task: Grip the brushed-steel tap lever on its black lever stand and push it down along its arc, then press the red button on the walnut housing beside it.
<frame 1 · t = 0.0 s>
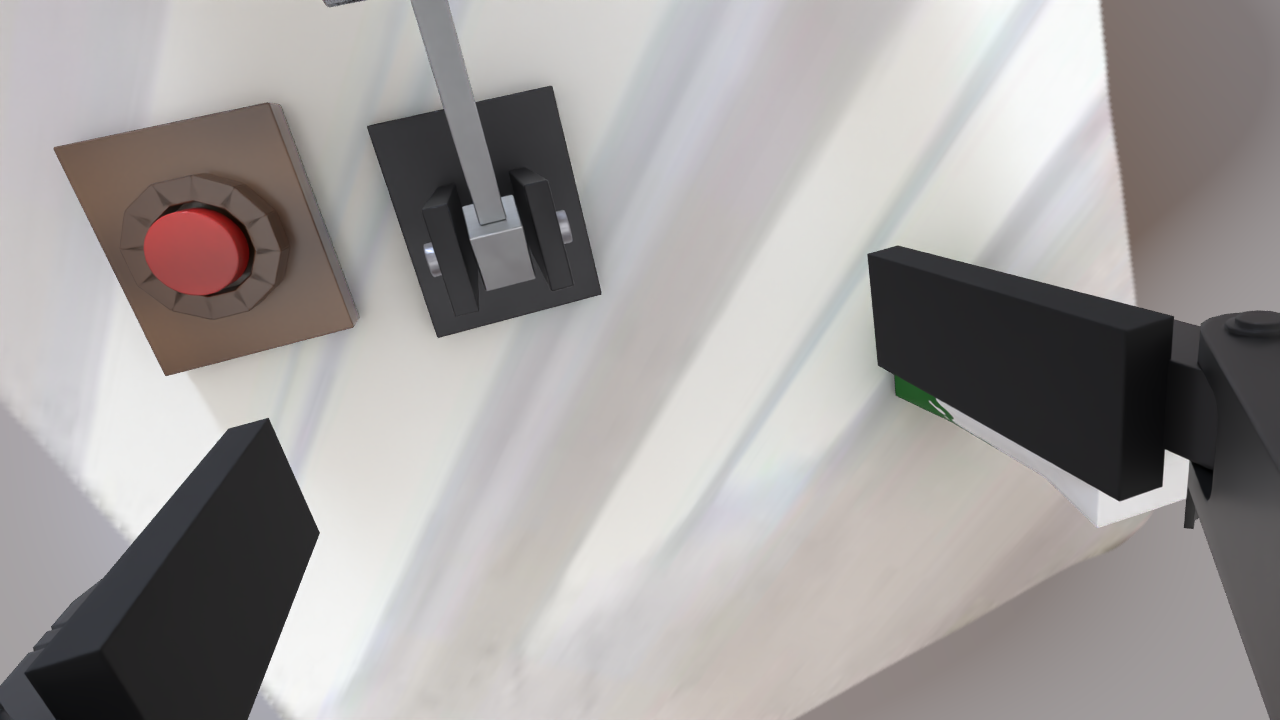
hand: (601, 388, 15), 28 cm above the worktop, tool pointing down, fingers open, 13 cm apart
black lever stand: (492, 213, 40), on the worktop
button box: (229, 238, 37), on the worktop
milk carton: (933, 339, 50), on the worktop
button: (198, 251, 33), point 4 cm above the worktop, slide at 0.1 cm
tap lever: (466, 129, 25), point 14 cm above the worktop, hinge at 28.0°
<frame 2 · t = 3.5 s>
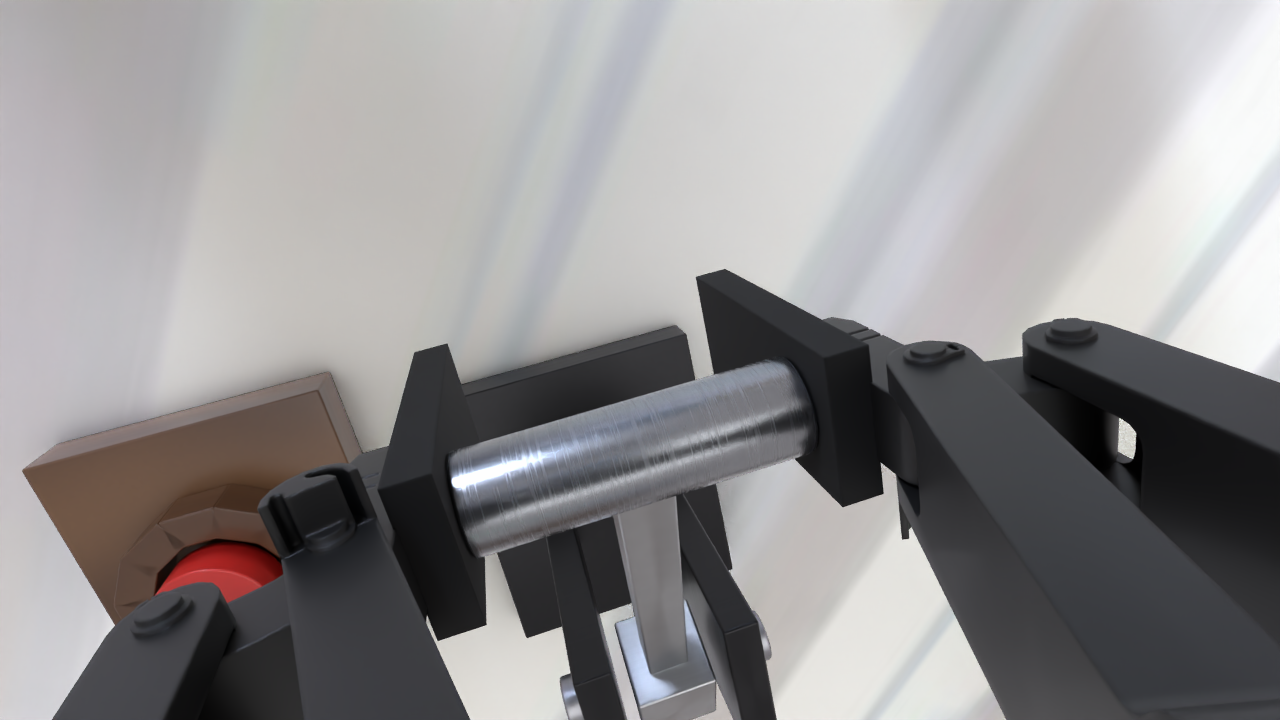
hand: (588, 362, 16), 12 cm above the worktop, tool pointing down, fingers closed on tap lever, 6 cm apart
black lever stand: (597, 477, 31), on the worktop
button box: (259, 535, 28), on the worktop
button: (222, 604, 24), point 4 cm above the worktop, slide at 0.1 cm
tap lever: (655, 592, 16), point 14 cm above the worktop, hinge at 28.0°, touching gripper
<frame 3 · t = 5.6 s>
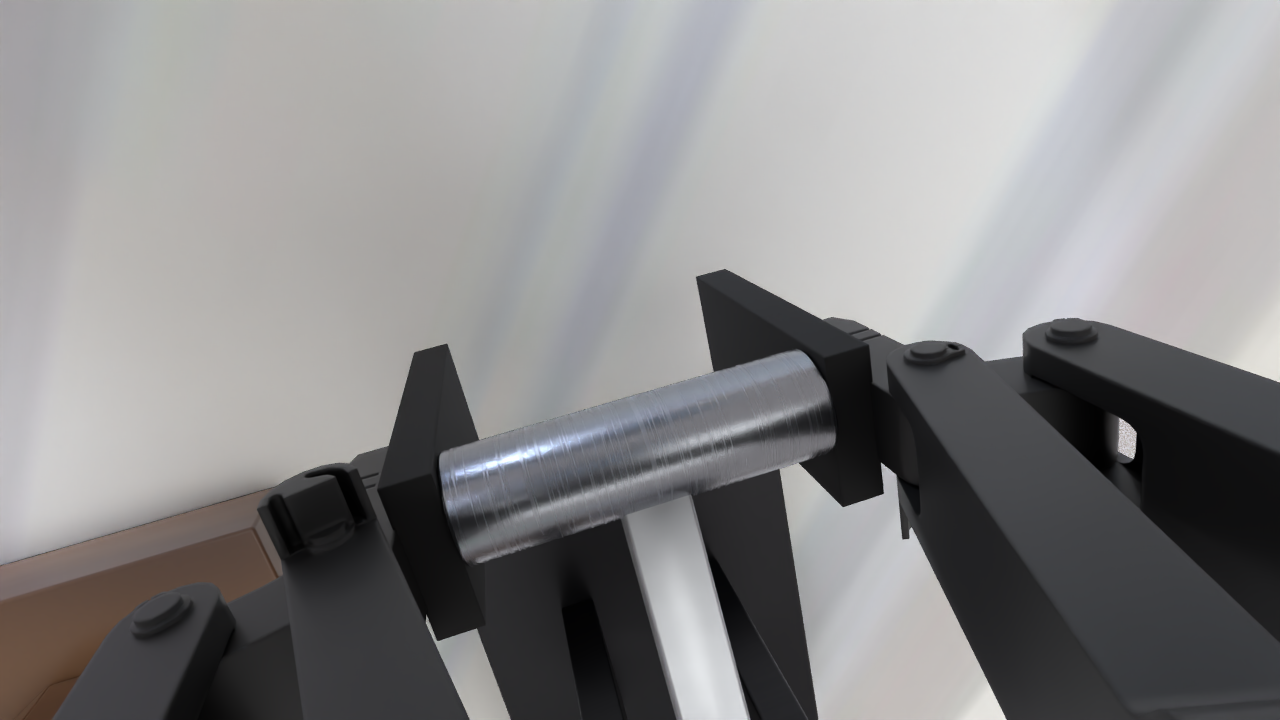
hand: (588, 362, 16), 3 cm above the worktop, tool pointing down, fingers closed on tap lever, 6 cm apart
black lever stand: (643, 607, 23), on the worktop
button box: (183, 705, 21), on the worktop
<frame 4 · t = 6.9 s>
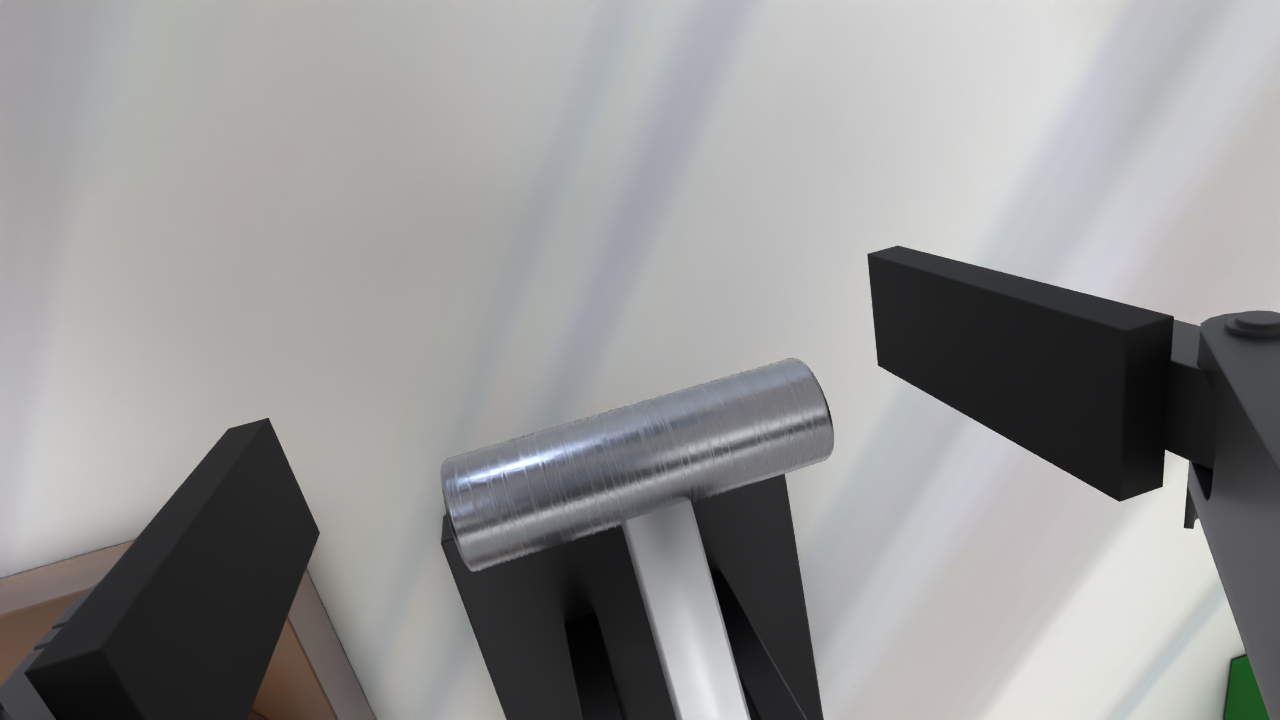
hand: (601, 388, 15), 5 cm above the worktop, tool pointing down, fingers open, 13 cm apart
black lever stand: (647, 621, 23), on the worktop
milk carton: (1278, 692, 32), on the worktop
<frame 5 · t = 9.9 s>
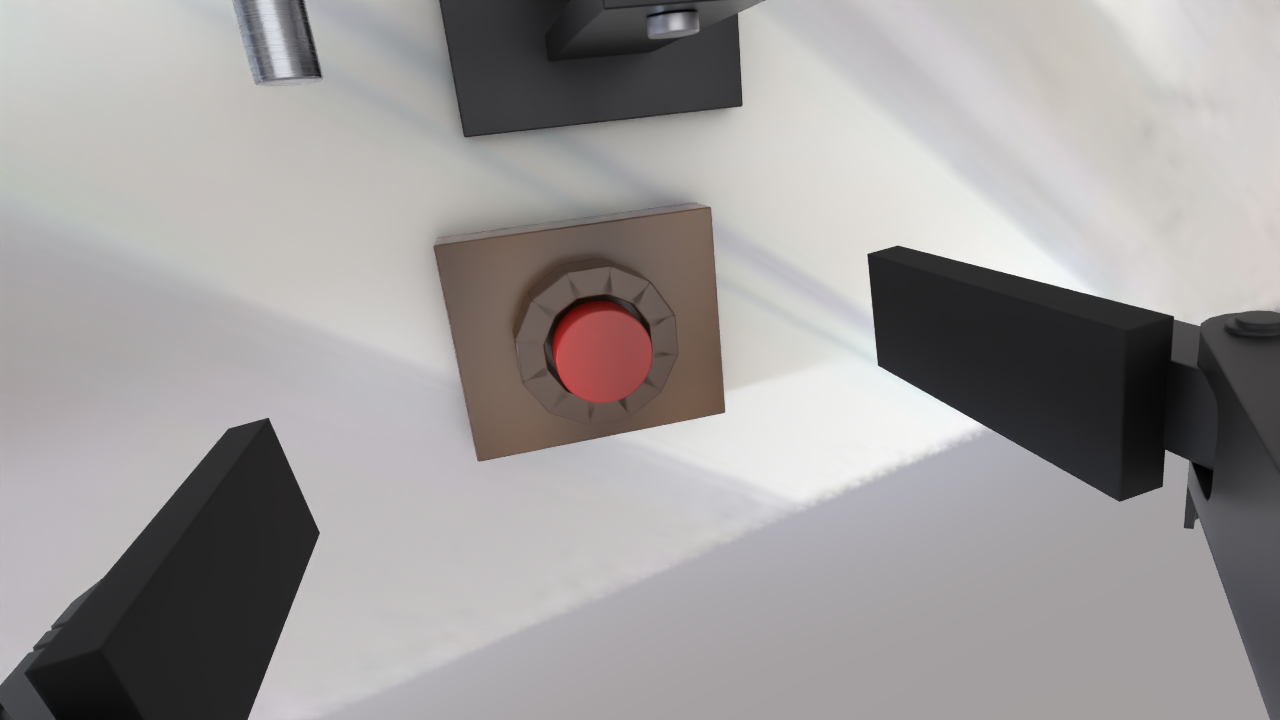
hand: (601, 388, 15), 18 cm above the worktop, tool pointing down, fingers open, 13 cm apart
button box: (584, 324, 33), on the worktop
button: (601, 351, 29), point 4 cm above the worktop, slide at 0.1 cm
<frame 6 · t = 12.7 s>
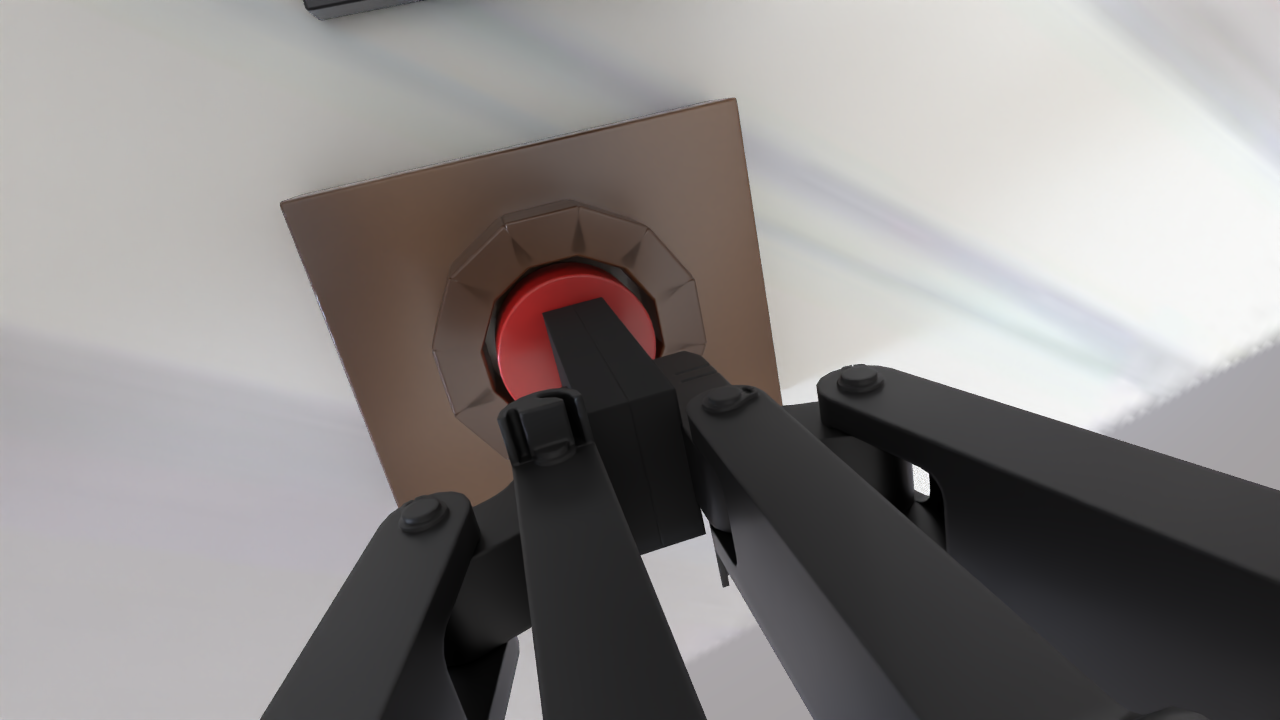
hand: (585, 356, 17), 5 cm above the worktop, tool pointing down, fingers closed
button box: (557, 310, 21), on the worktop
button: (574, 343, 18), point 4 cm above the worktop, slide at -0.7 cm, touching gripper
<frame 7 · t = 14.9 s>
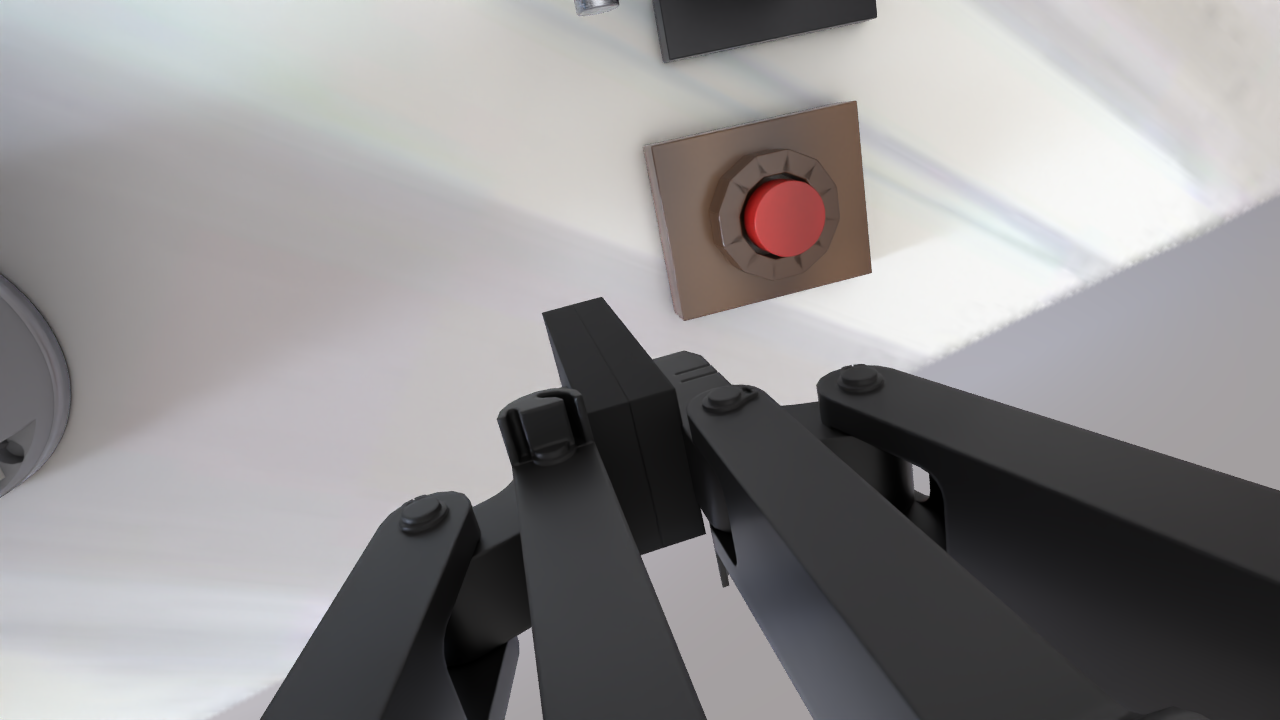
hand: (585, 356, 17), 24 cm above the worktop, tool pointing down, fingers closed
button box: (754, 209, 41), on the worktop
button: (784, 217, 37), point 4 cm above the worktop, slide at 0.1 cm
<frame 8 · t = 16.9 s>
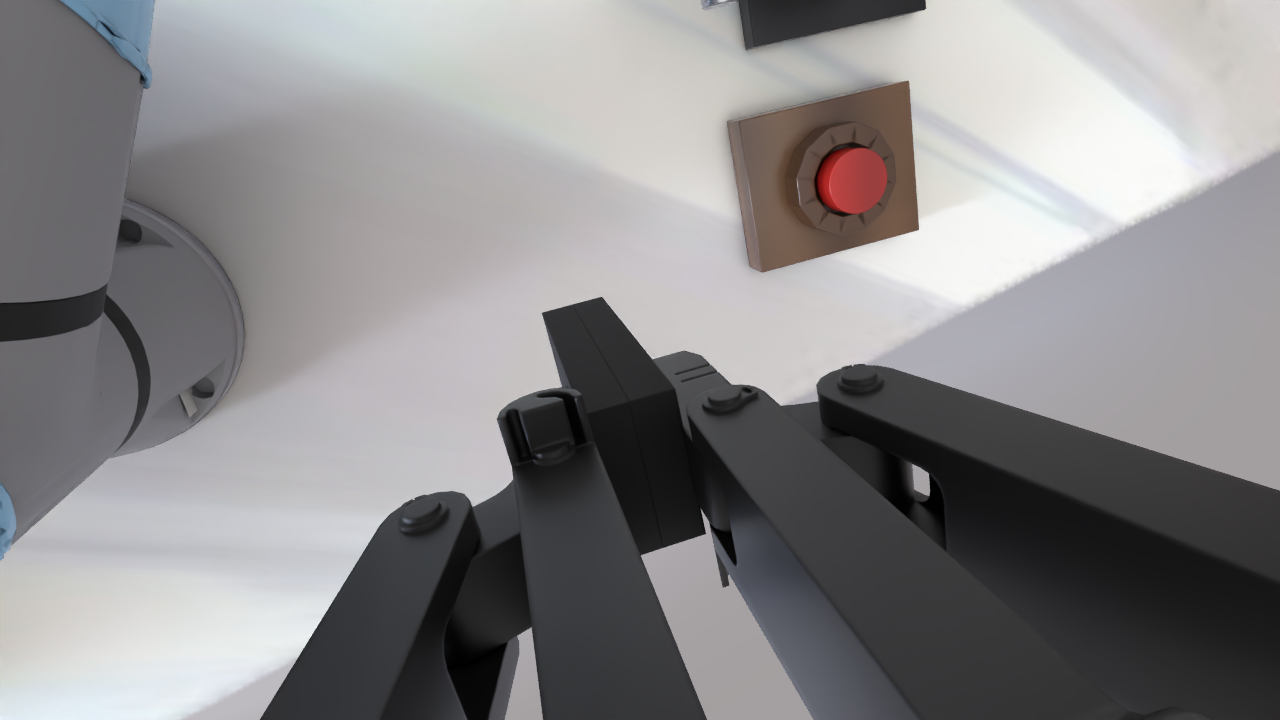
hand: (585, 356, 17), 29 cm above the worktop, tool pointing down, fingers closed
button box: (818, 176, 48), on the worktop
button: (851, 180, 44), point 4 cm above the worktop, slide at 0.1 cm
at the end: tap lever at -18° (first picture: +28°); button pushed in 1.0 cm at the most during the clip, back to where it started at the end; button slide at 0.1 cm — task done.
